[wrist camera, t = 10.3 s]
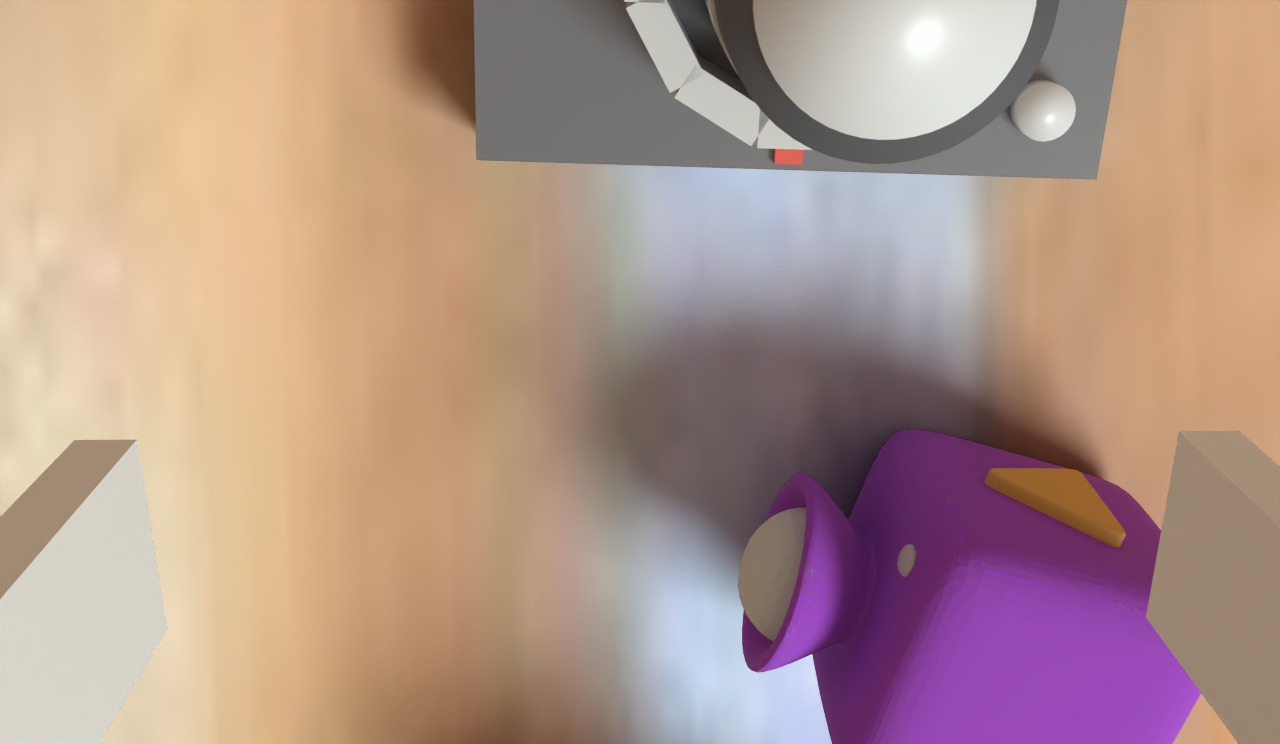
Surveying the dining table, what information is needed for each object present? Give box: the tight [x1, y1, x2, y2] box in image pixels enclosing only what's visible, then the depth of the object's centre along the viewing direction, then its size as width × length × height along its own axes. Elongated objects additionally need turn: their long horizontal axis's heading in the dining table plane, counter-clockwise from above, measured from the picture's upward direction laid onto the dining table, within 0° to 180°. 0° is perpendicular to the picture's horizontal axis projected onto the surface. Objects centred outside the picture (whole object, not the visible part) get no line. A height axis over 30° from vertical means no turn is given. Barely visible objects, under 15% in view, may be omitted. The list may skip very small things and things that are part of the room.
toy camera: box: [738, 429, 1201, 744], centre depth 39 cm, size 11×14×10 cm
